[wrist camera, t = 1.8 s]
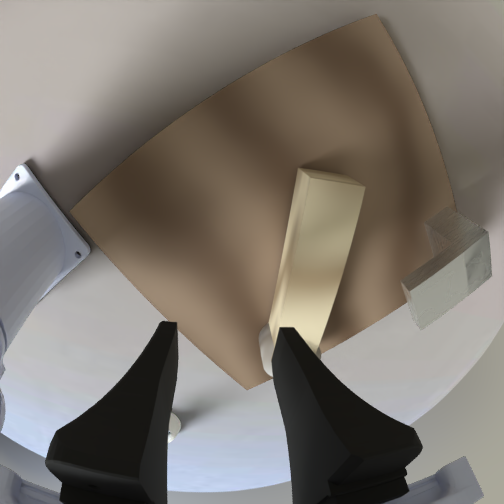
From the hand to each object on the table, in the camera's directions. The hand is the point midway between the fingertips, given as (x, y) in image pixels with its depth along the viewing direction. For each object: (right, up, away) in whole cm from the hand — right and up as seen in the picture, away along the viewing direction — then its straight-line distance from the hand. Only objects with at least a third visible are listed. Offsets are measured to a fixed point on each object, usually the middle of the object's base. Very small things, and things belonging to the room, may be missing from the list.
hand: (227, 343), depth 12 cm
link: (+4, +2, +7) cm, 9 cm away
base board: (+4, +5, +7) cm, 10 cm away
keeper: (+13, +4, +8) cm, 16 cm away
